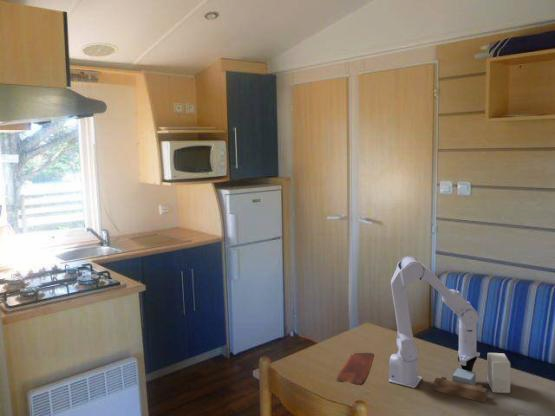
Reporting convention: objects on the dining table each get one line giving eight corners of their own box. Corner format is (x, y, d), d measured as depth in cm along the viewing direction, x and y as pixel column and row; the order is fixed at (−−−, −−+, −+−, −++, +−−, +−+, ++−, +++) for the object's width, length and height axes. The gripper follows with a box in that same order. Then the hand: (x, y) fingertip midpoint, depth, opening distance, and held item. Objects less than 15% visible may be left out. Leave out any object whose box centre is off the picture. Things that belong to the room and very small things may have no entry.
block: (452, 387, 167) (452, 375, 166) (457, 380, 172) (457, 368, 171) (470, 392, 163) (470, 379, 163) (475, 384, 168) (475, 372, 167)
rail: (434, 390, 166) (434, 380, 165) (437, 385, 169) (437, 375, 168) (484, 402, 157) (484, 392, 156) (487, 396, 160) (487, 386, 160)
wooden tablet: (363, 387, 172) (362, 382, 171) (335, 383, 175) (335, 378, 175) (377, 355, 196) (377, 351, 196) (352, 352, 200) (352, 348, 199)
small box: (510, 393, 161) (510, 363, 160) (492, 392, 162) (492, 362, 161) (504, 381, 169) (504, 352, 168) (487, 381, 170) (487, 352, 169)
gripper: (475, 349, 161) (475, 388, 163) (484, 334, 173) (483, 370, 175) (453, 345, 165) (453, 383, 167) (463, 330, 177) (463, 366, 179)
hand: (467, 376), depth 171 cm, fingers closed
